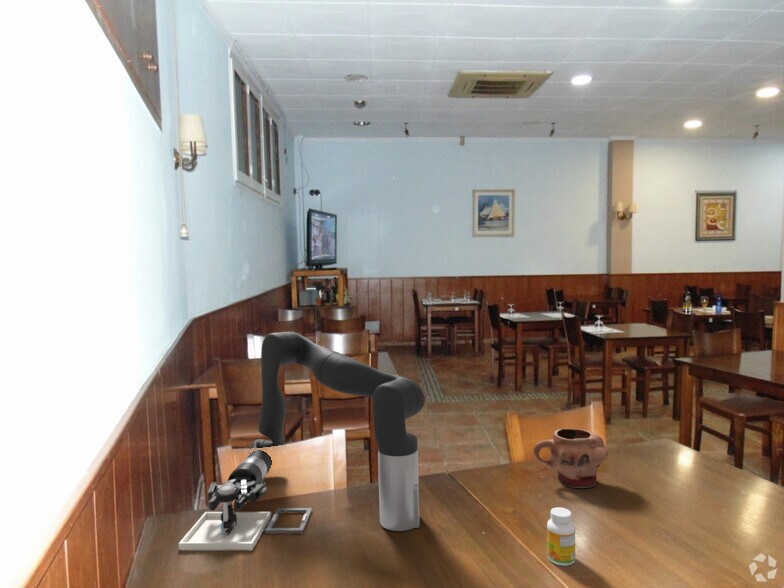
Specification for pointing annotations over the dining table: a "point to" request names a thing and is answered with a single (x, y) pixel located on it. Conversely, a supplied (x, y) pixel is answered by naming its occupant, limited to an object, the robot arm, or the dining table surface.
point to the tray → (241, 538)
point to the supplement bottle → (561, 537)
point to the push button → (227, 507)
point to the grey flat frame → (272, 530)
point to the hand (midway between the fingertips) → (223, 506)
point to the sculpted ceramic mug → (574, 456)
